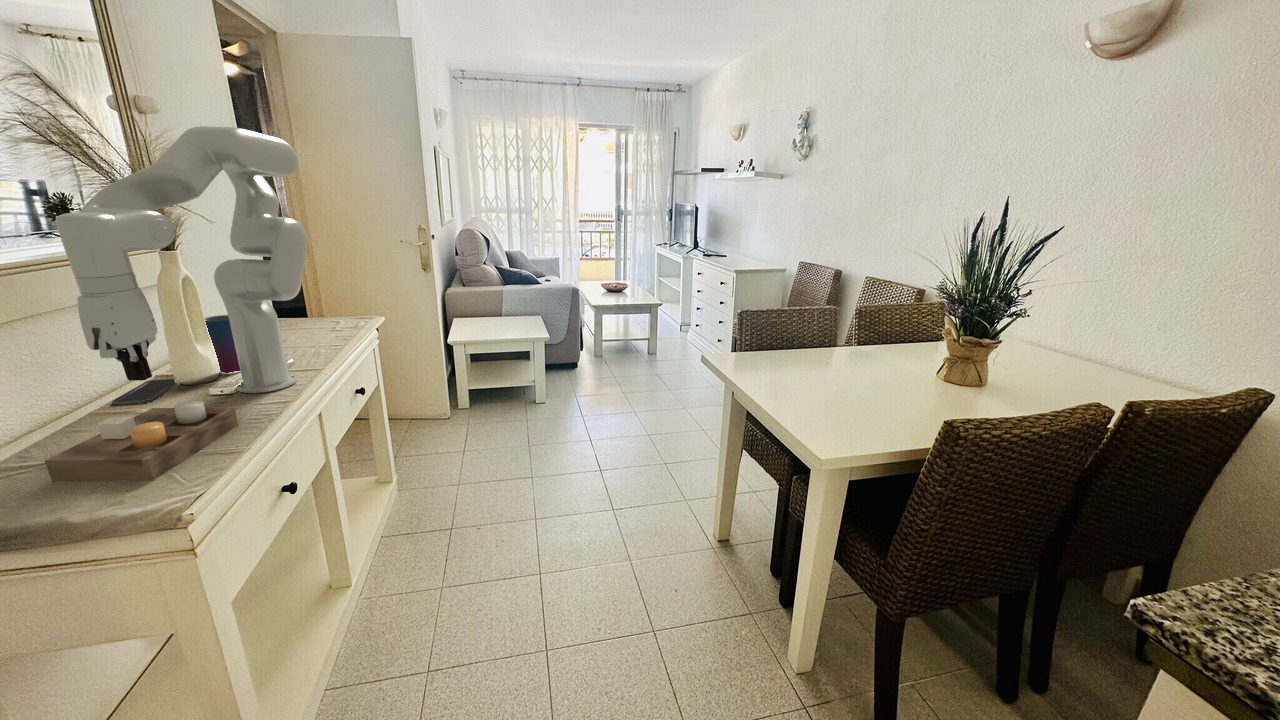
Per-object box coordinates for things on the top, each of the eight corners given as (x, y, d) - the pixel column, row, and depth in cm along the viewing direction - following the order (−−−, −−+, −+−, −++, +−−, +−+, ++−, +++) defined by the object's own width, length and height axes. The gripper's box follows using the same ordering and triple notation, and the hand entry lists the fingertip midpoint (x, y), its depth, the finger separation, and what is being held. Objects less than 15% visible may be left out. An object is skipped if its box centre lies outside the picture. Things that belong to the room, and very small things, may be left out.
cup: (243, 366, 144) (231, 313, 139) (250, 371, 140) (238, 317, 135) (212, 371, 139) (199, 317, 134) (219, 377, 135) (206, 322, 130)
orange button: (147, 436, 94) (143, 421, 93) (173, 436, 95) (169, 421, 94) (127, 448, 90) (122, 432, 89) (154, 447, 90) (149, 432, 89)
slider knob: (116, 431, 96) (112, 417, 95) (137, 431, 96) (133, 416, 95) (102, 439, 93) (97, 423, 92) (123, 438, 93) (118, 423, 92)
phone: (108, 402, 116) (148, 380, 130) (110, 407, 117) (149, 384, 130) (151, 399, 118) (185, 377, 132) (152, 404, 119) (186, 381, 132)
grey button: (189, 414, 104) (185, 400, 103) (212, 414, 104) (208, 400, 103) (171, 423, 99) (167, 409, 99) (196, 423, 100) (192, 409, 99)
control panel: (157, 425, 108) (152, 407, 106) (238, 425, 109) (234, 407, 108) (52, 481, 87) (44, 460, 86) (153, 480, 88) (147, 458, 87)
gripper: (121, 275, 99) (151, 364, 105) (43, 293, 85) (82, 395, 91) (163, 276, 99) (190, 364, 106) (92, 294, 85) (128, 394, 92)
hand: (140, 378), depth 98 cm, fingers closed
